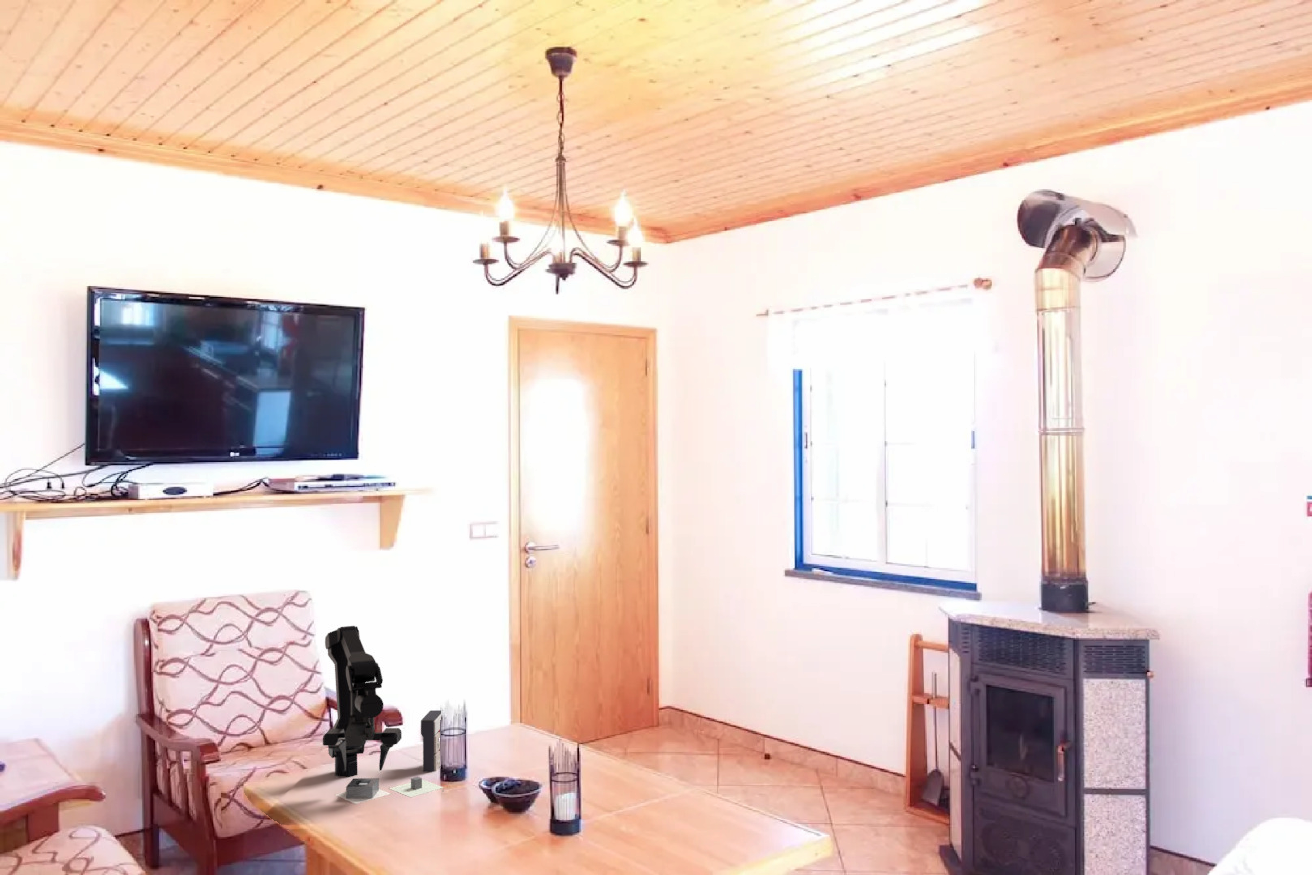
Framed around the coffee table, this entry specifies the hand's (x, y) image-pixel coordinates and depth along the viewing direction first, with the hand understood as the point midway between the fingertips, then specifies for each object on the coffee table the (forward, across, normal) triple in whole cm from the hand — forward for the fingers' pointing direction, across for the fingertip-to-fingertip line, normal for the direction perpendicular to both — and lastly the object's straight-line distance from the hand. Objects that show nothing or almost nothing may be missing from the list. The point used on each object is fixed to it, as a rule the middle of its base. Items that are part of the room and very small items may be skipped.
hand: (362, 770), depth 259 cm
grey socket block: (+6, 0, 0) cm, 6 cm away
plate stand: (+7, 0, 0) cm, 7 cm away
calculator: (+7, +14, +23) cm, 28 cm away
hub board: (+7, +13, +4) cm, 15 cm away
